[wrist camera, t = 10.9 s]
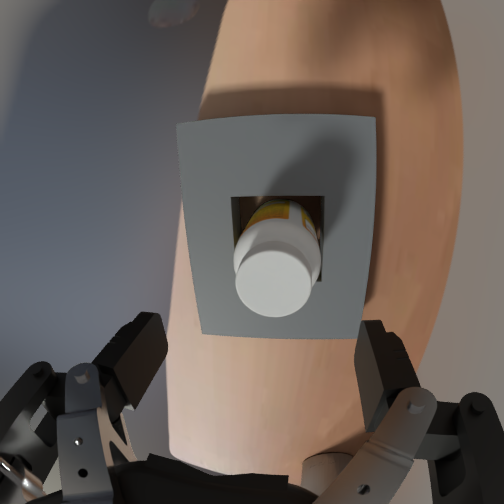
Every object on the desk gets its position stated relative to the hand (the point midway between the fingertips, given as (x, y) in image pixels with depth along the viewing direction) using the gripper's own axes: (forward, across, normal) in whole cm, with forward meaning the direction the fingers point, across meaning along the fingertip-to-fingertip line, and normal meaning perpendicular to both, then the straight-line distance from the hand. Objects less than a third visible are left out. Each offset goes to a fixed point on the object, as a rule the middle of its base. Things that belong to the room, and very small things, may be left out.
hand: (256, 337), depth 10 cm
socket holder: (+14, 0, 0) cm, 14 cm away
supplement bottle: (+14, 0, 0) cm, 14 cm away
